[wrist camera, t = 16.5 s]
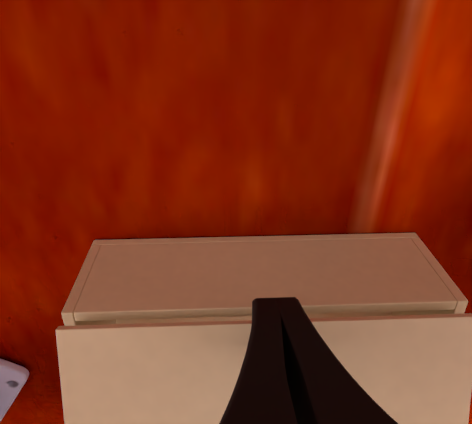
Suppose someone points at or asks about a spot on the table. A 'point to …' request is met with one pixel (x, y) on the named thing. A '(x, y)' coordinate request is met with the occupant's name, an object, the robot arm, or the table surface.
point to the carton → (258, 278)
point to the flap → (231, 359)
